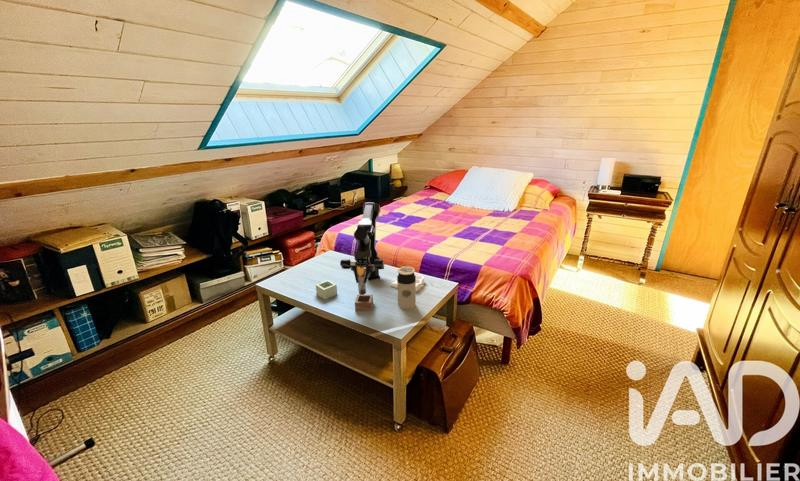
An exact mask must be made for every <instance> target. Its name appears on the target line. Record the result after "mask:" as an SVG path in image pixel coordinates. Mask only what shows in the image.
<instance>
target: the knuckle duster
mask: <svg viewBox="0 0 800 481" xmlns="http://www.w3.org/2000/svg"><path fill="white" fill-rule="evenodd" d="M414 275H415V274H414ZM415 276H416V293H417V292H418V291H419V290H421V289H422V288H423V287H425V285H424V284H425V277H424V276H423V275H421V274H416V275H415ZM422 284H423V285H422ZM389 286H390V287H392V288H395V289H398V287H397V279H396V280H395V281H393V282H392V283H390V284H389ZM421 287H422V288H421Z"/></svg>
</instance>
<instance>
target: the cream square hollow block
mask: <svg viewBox="0 0 800 481" xmlns="http://www.w3.org/2000/svg"><path fill="white" fill-rule="evenodd" d="M315 290H316V295H317V296H319V297H320V298H321V299H323V300H327V299H330V298H331V297H334V296H336V295H338V286H337V284H336V283H334V282H332V281H331V280H329V279H327V280H325V281H322V282H320V283H317V284H315Z"/></svg>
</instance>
